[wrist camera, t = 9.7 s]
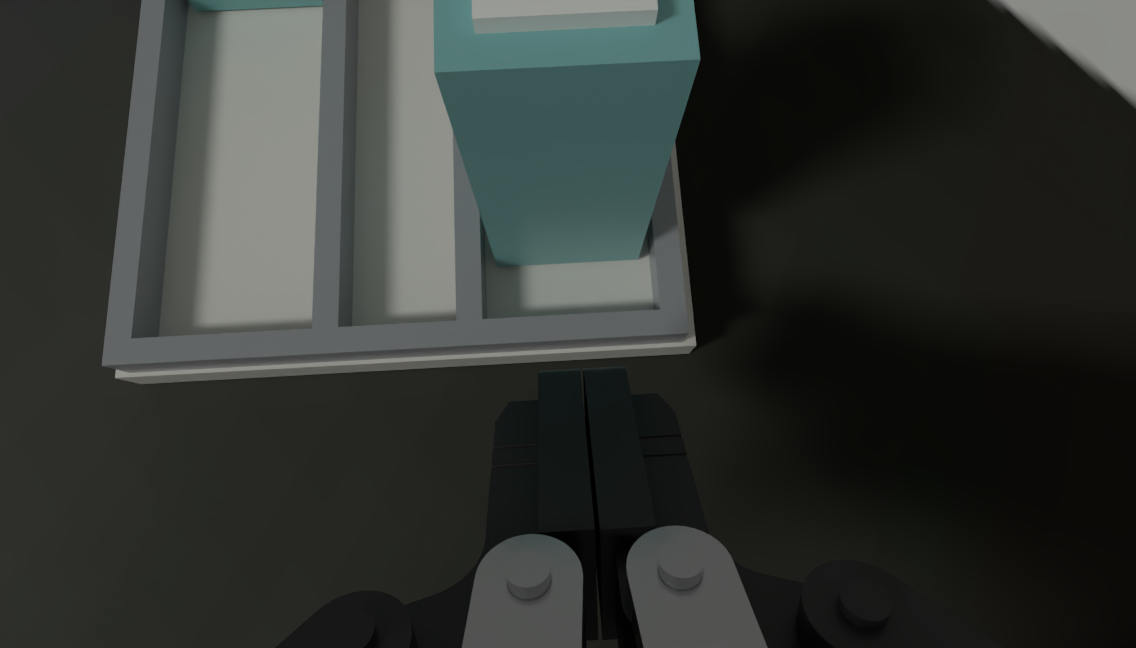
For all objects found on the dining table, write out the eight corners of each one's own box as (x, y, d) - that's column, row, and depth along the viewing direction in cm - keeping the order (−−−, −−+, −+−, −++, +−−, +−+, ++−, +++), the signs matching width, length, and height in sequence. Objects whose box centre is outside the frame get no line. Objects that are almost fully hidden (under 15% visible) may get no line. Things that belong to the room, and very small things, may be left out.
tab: (637, 259, 17) (704, 43, 8) (497, 266, 16) (429, 58, 8) (627, 132, 17) (679, -175, 9) (493, 139, 17) (427, -163, 9)
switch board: (689, 353, 17) (705, 335, 15) (141, 384, 17) (82, 370, 15) (641, -121, 21) (649, -188, 19) (187, -100, 20) (144, -165, 18)
